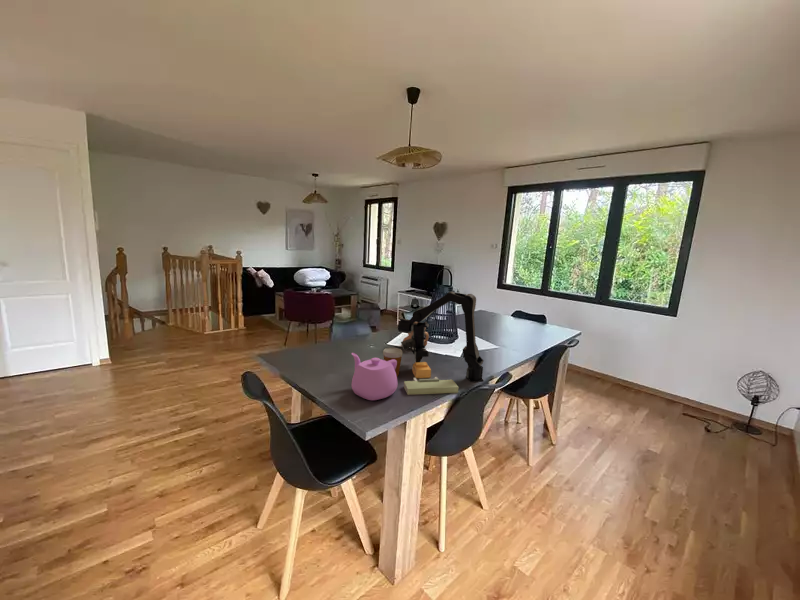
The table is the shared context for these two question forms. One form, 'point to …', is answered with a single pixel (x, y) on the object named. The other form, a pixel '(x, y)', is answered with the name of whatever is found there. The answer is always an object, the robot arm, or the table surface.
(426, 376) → the orange block with panel
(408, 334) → the ceramic jug
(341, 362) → the table surface
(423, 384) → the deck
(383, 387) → the teapot
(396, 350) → the disposable coffee cup
